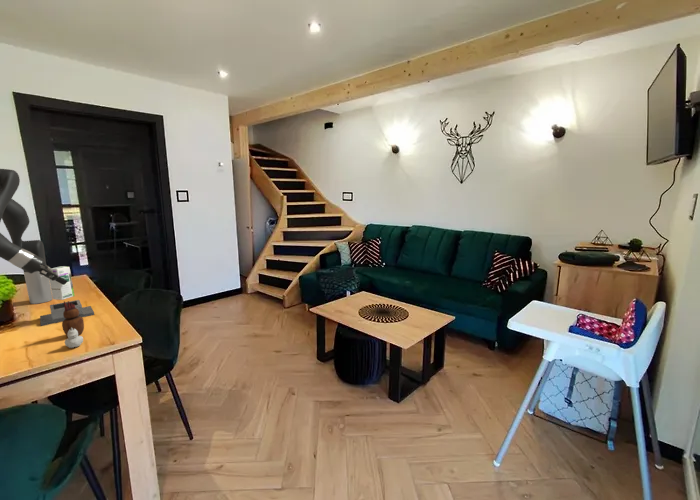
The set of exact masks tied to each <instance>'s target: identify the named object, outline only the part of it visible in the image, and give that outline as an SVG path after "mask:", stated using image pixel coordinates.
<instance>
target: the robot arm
mask: <svg viewBox="0 0 700 500" xmlns="http://www.w3.org/2000/svg"><path fill="white" fill-rule="evenodd" d="M20 182H21V181H20V175H19V174H18V172H17V171H16V170H13V169H9V168H8V169H7V168H6V169H5V168H0V223H1V221H2V222H3V224H4V225H5V228H6V230H7V232H8V234H9V237H10V239H11V240H9V239H8V238H7V237H6V236H5V235H4V234H2V232H0V259H3V260H4V261H7V262H9V263H10V264H12V265H13V266H15V267H17V268H18V269H21V270H22V271H23V275H24V280H25V284H26V290H27V296H28V300H29V303H30V304H31V305H34V304H35V305H36V304H43V303H47V302H50V301H53V297H52V291H51V286H50V281H49V279H51V280H52V281H57V282H59V283H61V284H63V285H65V284H66V283H67V280H65V279H63V278H61V277H60V276H59V275H57V274H56V272H54V271H52V270H51V267H50V266H49V265H47V259H46V253H45V246H44V243H43V241H42V240H39V239H38V240H37V239H36V240H35V239H34V240H32V239H31V240H23V239H22V236H23V234H24V233H25V231H27V228H28V227H29V224H30V218H29V215H28V212H27V210H26V209H25V207H23V205H21V204H20V203H19V202H18V201H16V200H15V199H13V196H14V195H15V193H16V192H17V190H18V189H19V186H20ZM53 275H54V277H53V278H52V276H53Z"/></svg>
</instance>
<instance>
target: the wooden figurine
mask: <svg viewBox="0 0 700 500" xmlns="http://www.w3.org/2000/svg"><path fill="white" fill-rule="evenodd" d="M65 302H66V301H63V303H64V307H65V311H64V313H63V316H64V318H66V319H65V320H64V321H63V322H61V328H62V330H63V333H64V335H66V336H67V337H68V335H67V333H68V331H69V329H70V330H71V327H72V328H73V330H74V328H75V329H76V330H77V331H78V336H81V335H82V334H83V332H84V329H85V321H84V317H80V316H78V315H79V310H78V309H77V308H75V305H74V304H73V305H72V303H69V301H67V302H68V306H67V304H66V303H65Z"/></svg>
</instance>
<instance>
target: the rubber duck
mask: <svg viewBox="0 0 700 500" xmlns="http://www.w3.org/2000/svg"><path fill="white" fill-rule="evenodd" d="M67 335H68V336H67ZM67 335H66V336H67V338H66V339H64V344H65V346H66V347H68V348H69V349H75V348H78V347H79V346H80V345H82V344H83V342H84V337H83V336H82V335H78V331H77V330H76V329H75V328H74V330H73V328H72V327H71V330H70V329H69V331H68V333H67ZM74 347H75V348H74Z"/></svg>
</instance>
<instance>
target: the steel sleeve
mask: <svg viewBox="0 0 700 500" xmlns="http://www.w3.org/2000/svg"><path fill="white" fill-rule="evenodd" d="M65 303H66V304H67V306H68V301H65ZM69 303H72V305H73V304H74V305H75V308H77V309H78V310H79V315H78V316H80V317H82V318H85V317H90V316H94V315H95V312H94V309H93V308H92V306H91V305H88V306H83V305H82V303H81V301H80V299H76V300H70V301H69ZM49 307H50V313H48V314H43V315H39V323H40V327H42V326H43V327H45V326H48V325H52V324H58V323H62V322H63V321H64V320H65V319H66V318H64V316H63V313H64V311H65V307H64V302H60V303H54V304H50V305H49Z"/></svg>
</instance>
